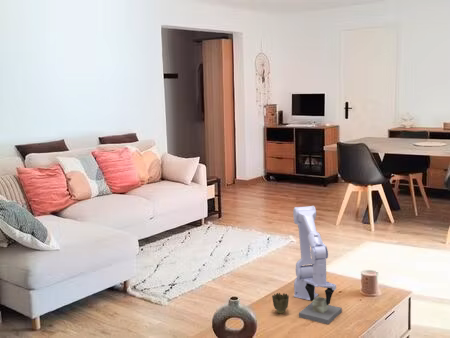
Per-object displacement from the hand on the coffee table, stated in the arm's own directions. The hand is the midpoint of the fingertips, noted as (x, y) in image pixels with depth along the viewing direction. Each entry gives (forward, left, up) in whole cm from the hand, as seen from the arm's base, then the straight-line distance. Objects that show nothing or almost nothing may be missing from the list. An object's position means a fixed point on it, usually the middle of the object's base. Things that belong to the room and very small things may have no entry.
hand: (320, 302), depth 229 cm
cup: (-16, -7, -6) cm, 18 cm away
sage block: (0, 0, -4) cm, 4 cm away
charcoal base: (0, 0, -6) cm, 6 cm away
